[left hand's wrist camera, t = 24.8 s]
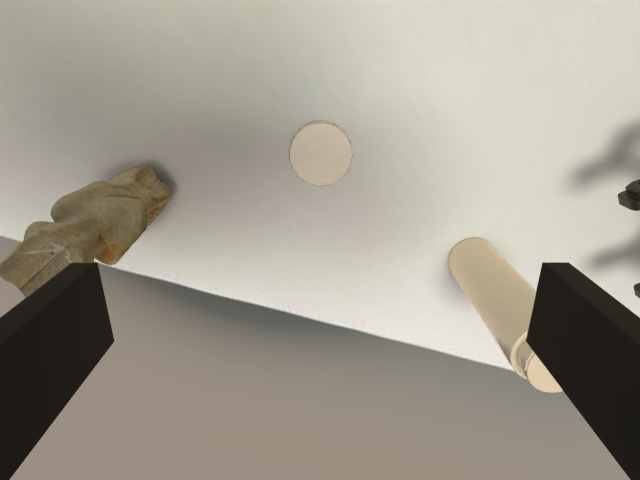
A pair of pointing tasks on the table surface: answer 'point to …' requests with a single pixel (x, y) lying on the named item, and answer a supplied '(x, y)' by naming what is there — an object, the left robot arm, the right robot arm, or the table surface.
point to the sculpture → (87, 228)
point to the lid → (320, 153)
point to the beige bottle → (501, 305)
